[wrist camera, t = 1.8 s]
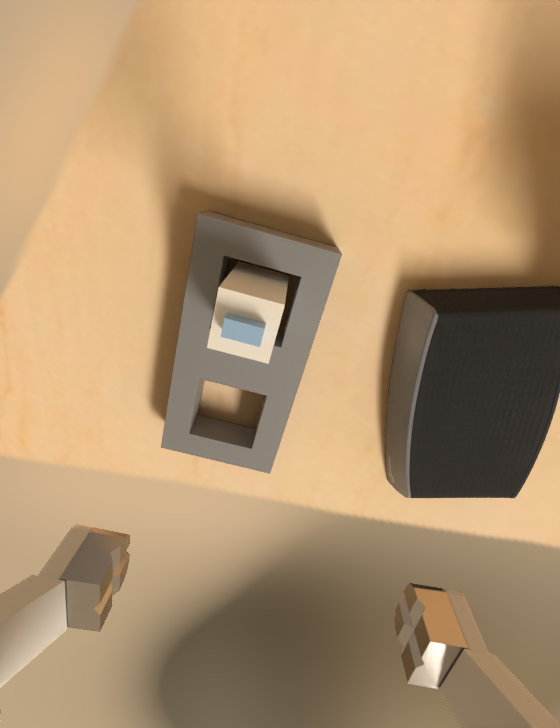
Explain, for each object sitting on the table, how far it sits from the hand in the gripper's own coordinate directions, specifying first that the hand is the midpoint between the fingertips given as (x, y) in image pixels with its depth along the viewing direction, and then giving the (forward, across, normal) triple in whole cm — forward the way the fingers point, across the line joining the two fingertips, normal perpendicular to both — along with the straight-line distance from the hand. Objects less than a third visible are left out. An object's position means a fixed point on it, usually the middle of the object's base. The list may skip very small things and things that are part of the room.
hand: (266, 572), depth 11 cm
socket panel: (+22, +3, +2) cm, 23 cm away
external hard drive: (+23, -16, +3) cm, 29 cm away
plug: (+22, +3, -3) cm, 23 cm away
